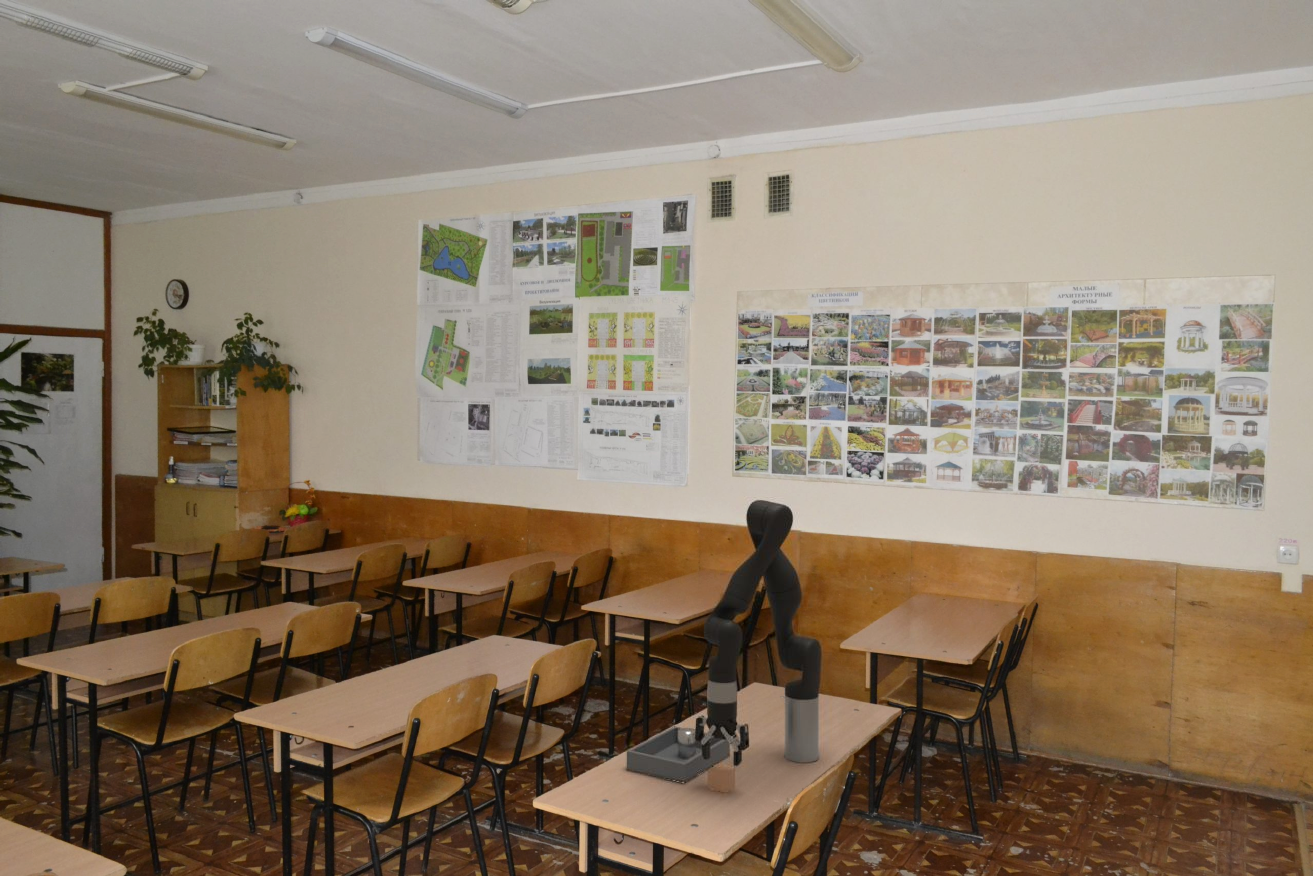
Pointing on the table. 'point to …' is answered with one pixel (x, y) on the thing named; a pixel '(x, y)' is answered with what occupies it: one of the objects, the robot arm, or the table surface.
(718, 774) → the cube
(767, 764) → the table surface
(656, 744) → the tote
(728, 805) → the table surface
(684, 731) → the cylinder
